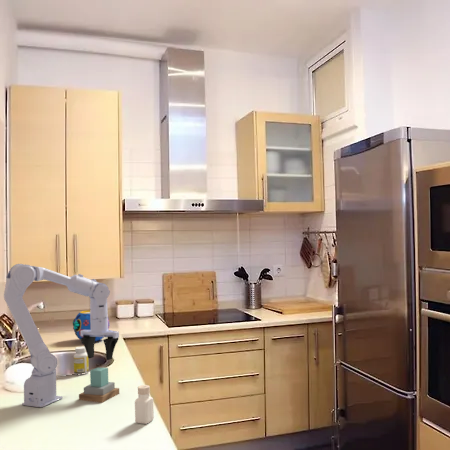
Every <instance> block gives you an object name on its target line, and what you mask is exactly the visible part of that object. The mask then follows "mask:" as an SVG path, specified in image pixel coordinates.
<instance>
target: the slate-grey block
mask: <svg viewBox="0 0 450 450" xmlns="http://www.w3.org/2000/svg"><path fill="white" fill-rule="evenodd" d="M115 386H116V385H115V382H112V381H108V384H106V385H104V386H102V387H94V386H91V383H90V384H88V385H86V386H84V387H83V392H84V394H91V395H105V394H107V393H108V392H110V391H112V390H113V389H115V388H116V387H115Z"/></svg>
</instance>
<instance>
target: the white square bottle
mask: <svg viewBox="0 0 450 450" xmlns="http://www.w3.org/2000/svg"><path fill="white" fill-rule="evenodd" d="M150 387H151V386H150V385H149V384H142V385H139V386H138V387H137V394H138V395H137V396H138V397H137V398H136V399H135V401H134V418H135V419H134V422H135V424H143V425H147V423H148V424H149V423H151V422H152V421H153V420H154V417H155V416H154V398H153V397H151V396H150V393H151V388H150Z"/></svg>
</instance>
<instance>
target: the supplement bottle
mask: <svg viewBox="0 0 450 450" xmlns="http://www.w3.org/2000/svg"><path fill="white" fill-rule="evenodd" d="M74 349H75V350H74V352H75V353H74V354H73V373H74V375H76V376H78V375H77V374H80V375H79V376H82V375H81V374H82V373H85V374H84V375H87V374H86V372H88V373H90V369H89V366H90V365H89V358H88V355H87V352H86V349H85V346H76V347H75V348H74Z"/></svg>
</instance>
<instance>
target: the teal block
mask: <svg viewBox="0 0 450 450" xmlns="http://www.w3.org/2000/svg"><path fill="white" fill-rule="evenodd" d="M89 373H90V374H89V379H90V380H89V381H90V384H91V386H94V387H102V386H104V385H106V384H108V382H109V368H108V367H98V366H97V367H95V368H92V369H89Z"/></svg>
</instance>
